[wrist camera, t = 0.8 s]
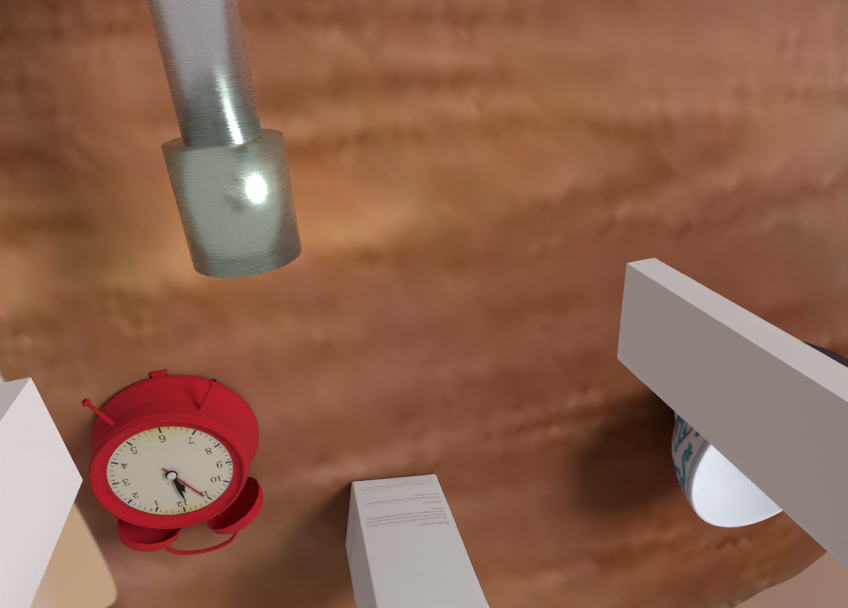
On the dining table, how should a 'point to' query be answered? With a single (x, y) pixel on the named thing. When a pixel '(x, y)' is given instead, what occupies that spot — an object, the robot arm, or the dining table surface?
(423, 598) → the supplement box
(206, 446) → the alarm clock
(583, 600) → the dining table surface
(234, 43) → the shaft
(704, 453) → the chinaware
